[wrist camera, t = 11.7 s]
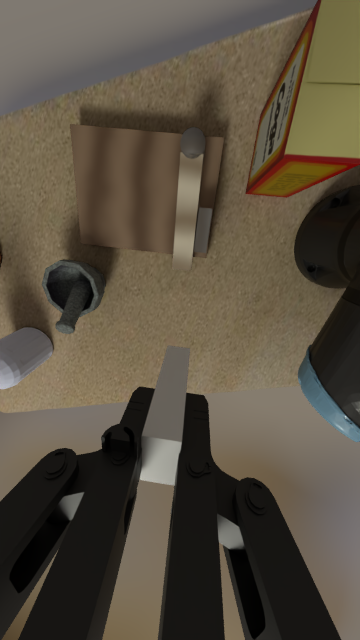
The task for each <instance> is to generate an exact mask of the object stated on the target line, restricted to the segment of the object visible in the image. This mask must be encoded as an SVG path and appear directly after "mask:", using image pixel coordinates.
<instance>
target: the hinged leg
mask: <svg viewBox="0 0 360 640" xmlns="http://www.w3.org/2000/svg"><path fill="white" fill-rule="evenodd" d="M180 146H181V151H182V152H180V166H179V180H178V194H177V208H176V222H175V236H174V250H173V264H172V269H174V270H183V271H191V268H192V259H193V250H194V241H195V232H196V223H197V213H198V204H199V195H200V186H201V177H202V168H203V158H204V155H205V136H204V134H203V132H202V131H201V130H200V129H199V128H196V127H191V128H188V129H187V130H186V131H185V132H184V133H183V135H182V137H181V142H180Z"/></svg>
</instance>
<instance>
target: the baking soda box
mask: <svg viewBox="0 0 360 640" xmlns="http://www.w3.org/2000/svg"><path fill="white" fill-rule="evenodd" d="M358 165H360V0H318V1H317V3H316V5H315V7H314V9H313V11H312V13H311V15H310V17H309V19H308V21H307V23H306V25H305V27H304V29H303V31H302V33H301V35H300V37H299V39H298V41H297V43H296V45H295V47H294V49H293V51H292V53H291V55H290V57H289V59H288V61H287V63H286V65H285V67H284V69H283V71H282V73H281V75H280V77H279V79H278V81H277V83H276V85H275V87H274V89H273V91H272V93H271V95H270V97H269V99H268V101H267V103H266V105H265V107H264V109H263V111H262V113H261V115H260V120H259V125H258V131H257V136H256V141H255V146H254V152H253V157H252V162H251V167H250V173H249V178H248V183H247V188H246V194H254V195H265V196H277V197H289V196H291V195H293V194H296V193H298V192H300V191H302V190H304V189H307V188H309V187H311V186H313V185H315V184H318V183H320V182H322V181H324V180H327V179H329V178H331V177H333V176H335V175H338V174H340V173H342V172H344V171H346V170H349V169H351V168H353V167H355V166H358Z"/></svg>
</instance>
